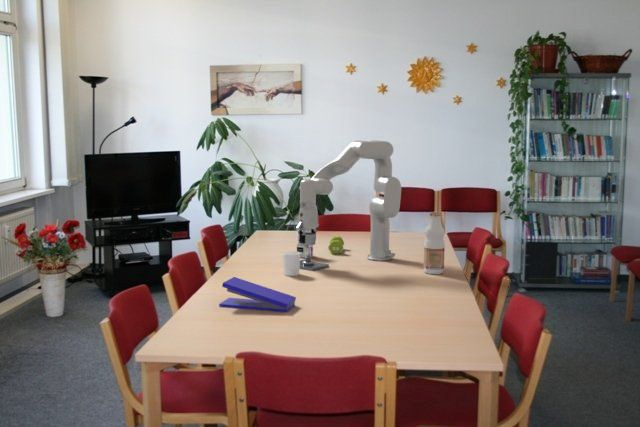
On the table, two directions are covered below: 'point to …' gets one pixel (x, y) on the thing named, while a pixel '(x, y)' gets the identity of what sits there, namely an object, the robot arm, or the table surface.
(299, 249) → the supplement can
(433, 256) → the fruit juice
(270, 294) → the stapler
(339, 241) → the dumbbell
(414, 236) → the table surface
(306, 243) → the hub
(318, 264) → the shaft stand
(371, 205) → the robot arm
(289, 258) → the white cup
